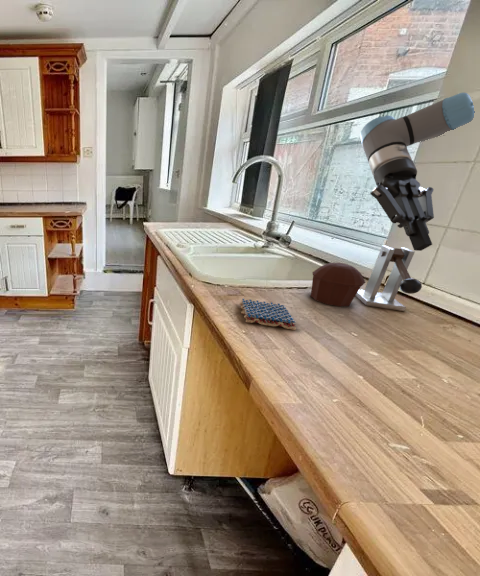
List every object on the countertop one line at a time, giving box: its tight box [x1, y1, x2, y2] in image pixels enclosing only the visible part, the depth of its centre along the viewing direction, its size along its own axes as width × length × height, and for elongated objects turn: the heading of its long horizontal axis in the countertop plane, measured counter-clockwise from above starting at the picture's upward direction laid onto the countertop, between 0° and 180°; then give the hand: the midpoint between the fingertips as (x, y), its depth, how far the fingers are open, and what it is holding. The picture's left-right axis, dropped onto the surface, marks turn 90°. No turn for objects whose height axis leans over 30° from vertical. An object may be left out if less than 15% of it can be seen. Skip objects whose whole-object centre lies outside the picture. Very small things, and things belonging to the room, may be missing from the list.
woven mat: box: [238, 298, 297, 331], centre depth 71 cm, size 10×11×2 cm
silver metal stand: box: [355, 244, 416, 312], centre depth 81 cm, size 10×8×15 cm
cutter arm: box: [389, 247, 423, 295], centre depth 74 cm, size 15×4×4 cm, turn 158°
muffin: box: [310, 262, 367, 308], centre depth 81 cm, size 12×11×10 cm
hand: (423, 247), depth 69 cm, fingers closed
